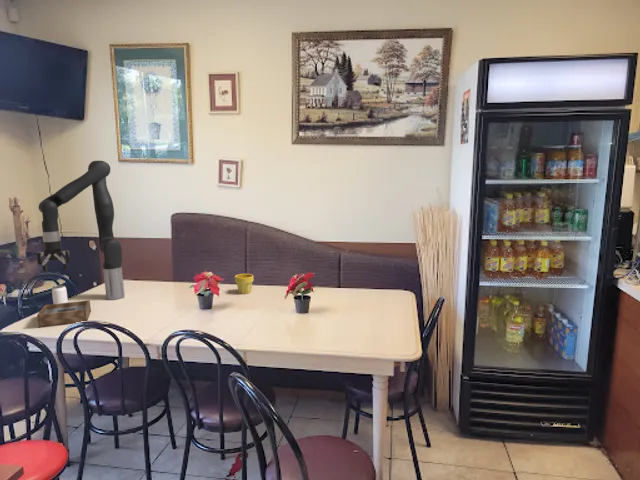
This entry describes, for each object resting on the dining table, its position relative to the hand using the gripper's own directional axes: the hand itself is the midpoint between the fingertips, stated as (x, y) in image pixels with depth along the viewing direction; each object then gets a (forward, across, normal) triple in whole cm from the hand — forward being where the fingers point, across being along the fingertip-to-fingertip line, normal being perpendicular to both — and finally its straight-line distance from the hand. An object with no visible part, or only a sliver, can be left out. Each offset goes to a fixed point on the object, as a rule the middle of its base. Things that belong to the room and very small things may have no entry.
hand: (55, 271), depth 229 cm
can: (+20, 0, -1) cm, 20 cm away
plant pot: (+20, -95, +1) cm, 97 cm away
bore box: (+20, -7, +18) cm, 28 cm away
